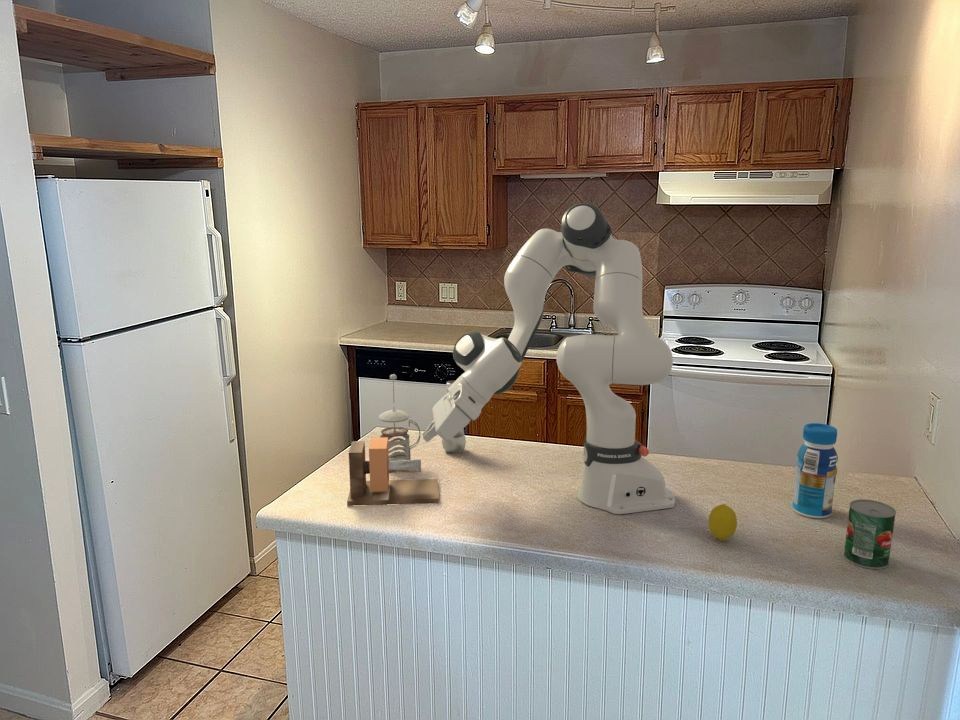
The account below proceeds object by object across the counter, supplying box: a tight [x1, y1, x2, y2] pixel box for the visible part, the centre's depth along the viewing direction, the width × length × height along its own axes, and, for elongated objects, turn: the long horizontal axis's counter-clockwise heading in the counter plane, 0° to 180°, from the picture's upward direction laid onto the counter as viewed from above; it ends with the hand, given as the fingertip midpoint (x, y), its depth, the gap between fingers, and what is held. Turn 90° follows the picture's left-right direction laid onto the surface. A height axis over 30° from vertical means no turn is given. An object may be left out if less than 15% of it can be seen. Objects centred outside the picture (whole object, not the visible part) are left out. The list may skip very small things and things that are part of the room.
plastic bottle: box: [441, 380, 467, 453], centre depth 198 cm, size 6×7×20 cm
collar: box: [368, 437, 390, 492], centre depth 169 cm, size 4×8×10 cm, turn 4°
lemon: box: [708, 503, 738, 541], centre depth 147 cm, size 6×6×8 cm
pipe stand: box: [346, 440, 440, 507], centre depth 169 cm, size 21×12×12 cm, turn 94°
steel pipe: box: [364, 459, 422, 475], centre depth 169 cm, size 15×3×3 cm, turn 94°
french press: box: [378, 373, 421, 460], centre depth 187 cm, size 10×12×25 cm
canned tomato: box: [843, 498, 897, 570], centre depth 139 cm, size 8×8×11 cm
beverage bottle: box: [791, 422, 839, 519], centre depth 159 cm, size 8×8×20 cm
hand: (424, 438), depth 167 cm, fingers closed
